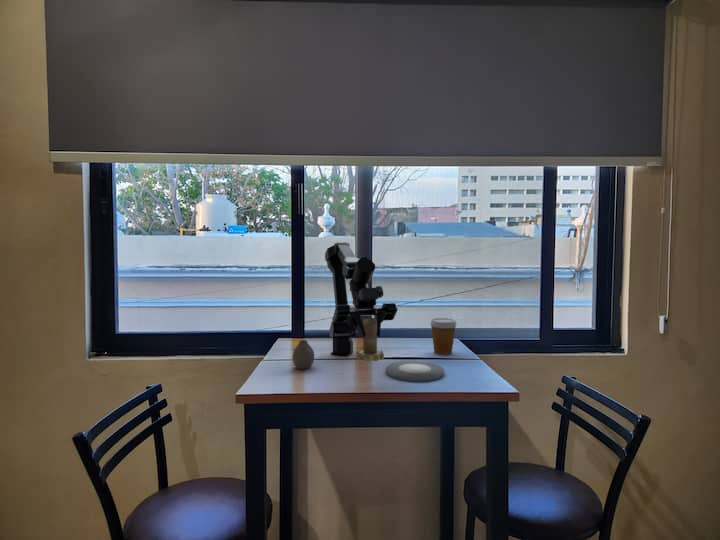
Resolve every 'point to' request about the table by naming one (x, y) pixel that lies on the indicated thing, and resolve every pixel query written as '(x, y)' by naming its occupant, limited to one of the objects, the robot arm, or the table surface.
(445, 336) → the disposable coffee cup
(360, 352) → the gear
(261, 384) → the table surface
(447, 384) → the table surface
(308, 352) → the vase
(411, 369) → the disc
